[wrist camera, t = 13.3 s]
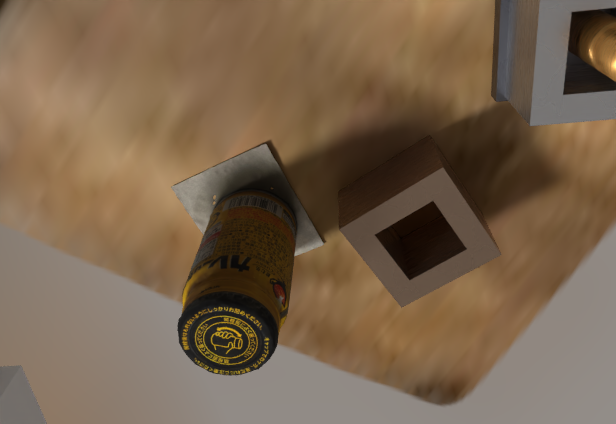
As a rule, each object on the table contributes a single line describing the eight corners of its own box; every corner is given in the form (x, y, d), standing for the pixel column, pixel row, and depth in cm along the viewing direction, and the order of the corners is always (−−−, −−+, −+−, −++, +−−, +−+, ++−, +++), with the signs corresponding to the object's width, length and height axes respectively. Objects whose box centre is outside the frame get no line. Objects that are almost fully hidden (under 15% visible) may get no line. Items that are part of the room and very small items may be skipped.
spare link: (338, 191, 39) (339, 229, 35) (429, 135, 37) (443, 167, 33) (394, 264, 42) (401, 307, 37) (482, 214, 40) (501, 254, 35)
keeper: (497, -47, 32) (562, -25, 23) (650, -64, 31) (778, -47, 22) (491, 95, 36) (545, 162, 27) (627, 83, 35) (729, 147, 26)
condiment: (234, 279, 43) (203, 404, 32) (171, 185, 39) (113, 291, 29) (324, 242, 41) (322, 362, 31) (266, 141, 38) (241, 236, 27)
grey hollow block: (511, -31, 31) (541, -19, 27) (648, -46, 31) (701, -36, 26) (504, 96, 34) (529, 126, 30) (628, 85, 34) (672, 114, 30)
